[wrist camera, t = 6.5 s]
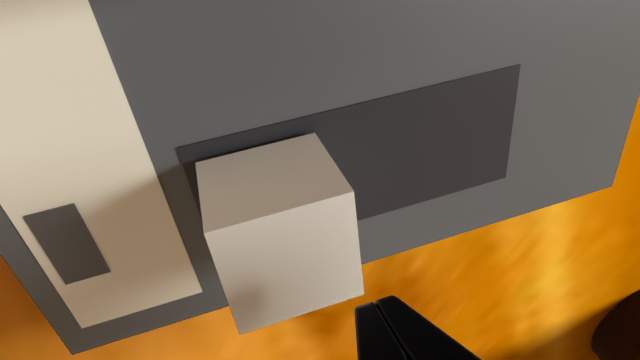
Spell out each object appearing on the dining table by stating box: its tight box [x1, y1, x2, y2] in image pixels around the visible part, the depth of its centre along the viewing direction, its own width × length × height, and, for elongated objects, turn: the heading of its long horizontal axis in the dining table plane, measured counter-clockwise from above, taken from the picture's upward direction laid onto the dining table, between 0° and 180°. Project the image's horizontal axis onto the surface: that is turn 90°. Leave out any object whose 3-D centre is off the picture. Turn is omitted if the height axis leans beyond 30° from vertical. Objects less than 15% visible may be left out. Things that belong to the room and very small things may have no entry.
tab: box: [195, 133, 364, 335], centre depth 11 cm, size 3×3×3 cm
